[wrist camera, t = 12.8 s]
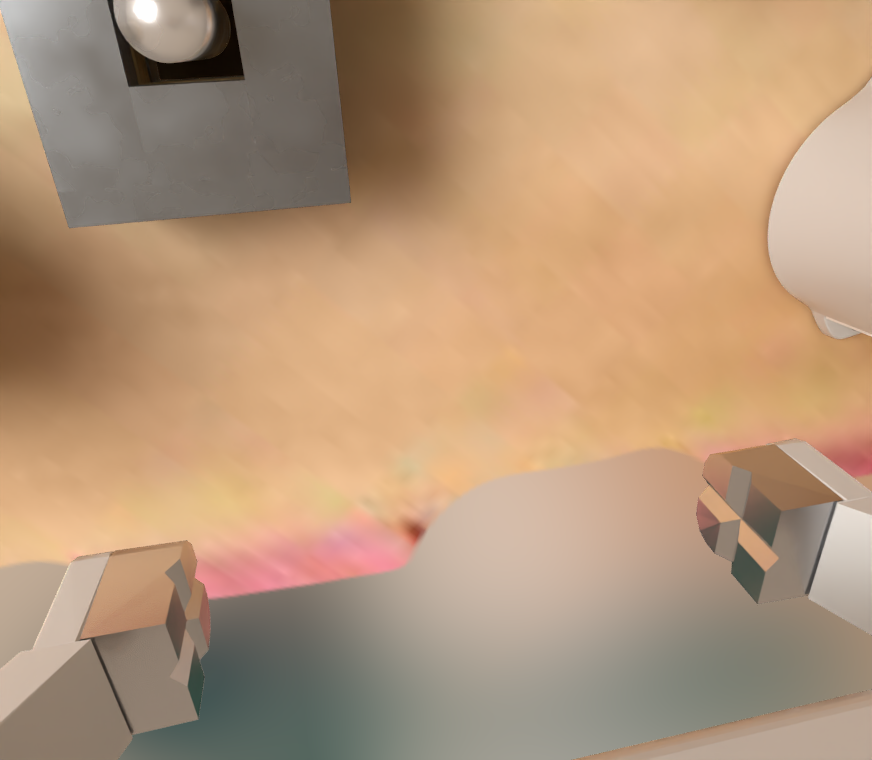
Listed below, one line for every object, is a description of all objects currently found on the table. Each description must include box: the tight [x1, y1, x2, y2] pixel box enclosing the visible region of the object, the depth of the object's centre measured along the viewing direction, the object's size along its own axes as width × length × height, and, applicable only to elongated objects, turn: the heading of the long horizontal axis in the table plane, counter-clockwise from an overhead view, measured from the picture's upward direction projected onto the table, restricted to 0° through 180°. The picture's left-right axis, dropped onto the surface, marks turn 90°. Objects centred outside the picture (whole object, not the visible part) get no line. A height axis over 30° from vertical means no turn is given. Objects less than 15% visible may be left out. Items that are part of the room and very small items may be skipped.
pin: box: [113, 0, 231, 63], centre depth 26 cm, size 3×3×10 cm
